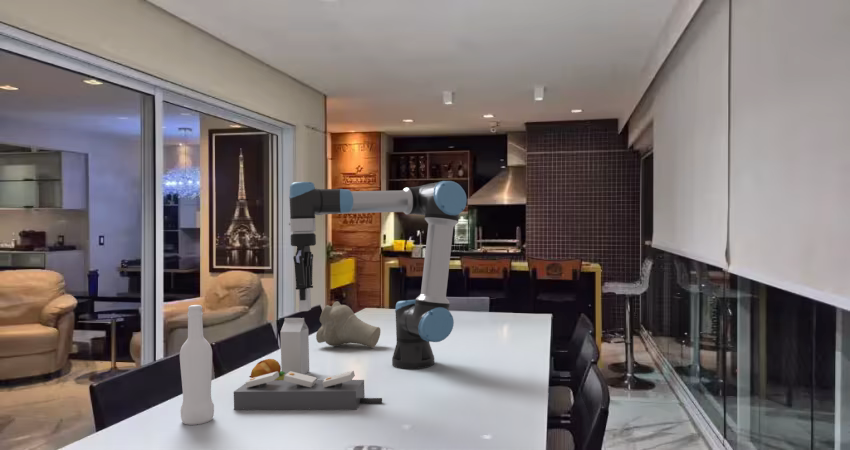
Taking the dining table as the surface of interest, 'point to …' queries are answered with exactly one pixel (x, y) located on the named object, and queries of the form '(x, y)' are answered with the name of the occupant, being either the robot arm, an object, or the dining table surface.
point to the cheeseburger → (267, 369)
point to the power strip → (302, 396)
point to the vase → (345, 327)
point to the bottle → (196, 372)
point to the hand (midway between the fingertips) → (305, 310)
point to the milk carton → (294, 346)
